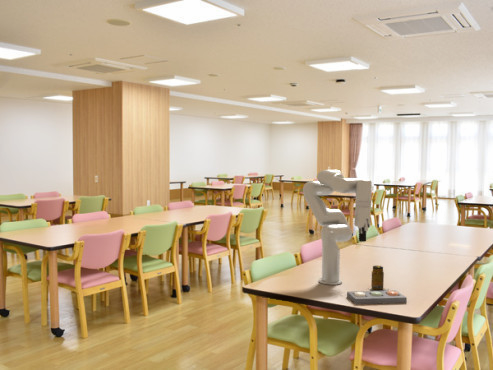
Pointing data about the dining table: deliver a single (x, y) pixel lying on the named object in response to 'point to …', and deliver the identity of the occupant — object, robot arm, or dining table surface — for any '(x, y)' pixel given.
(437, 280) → the dining table surface
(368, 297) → the panel
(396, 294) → the button terracotta
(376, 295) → the button sage
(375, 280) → the condiment
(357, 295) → the button cream
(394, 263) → the dining table surface
